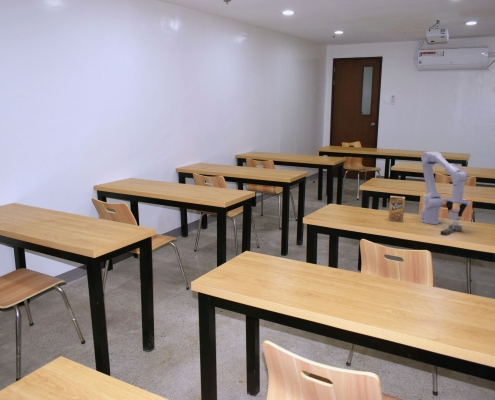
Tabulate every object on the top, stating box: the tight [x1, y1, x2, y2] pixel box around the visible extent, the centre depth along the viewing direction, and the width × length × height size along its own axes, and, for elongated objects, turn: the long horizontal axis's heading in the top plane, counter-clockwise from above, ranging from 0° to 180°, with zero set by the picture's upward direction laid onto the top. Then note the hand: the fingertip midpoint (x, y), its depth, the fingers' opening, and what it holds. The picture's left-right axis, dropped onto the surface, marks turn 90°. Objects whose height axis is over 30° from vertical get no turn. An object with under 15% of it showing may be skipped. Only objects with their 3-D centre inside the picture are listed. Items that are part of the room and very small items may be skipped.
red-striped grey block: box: [447, 208, 462, 222], centre depth 252 cm, size 5×5×6 cm
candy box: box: [387, 195, 406, 223], centre depth 273 cm, size 9×4×15 cm, turn 70°
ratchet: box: [439, 220, 463, 237], centre depth 250 cm, size 7×19×5 cm, turn 132°
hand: (455, 215), depth 252 cm, fingers closed on red-striped grey block, 5 cm apart
